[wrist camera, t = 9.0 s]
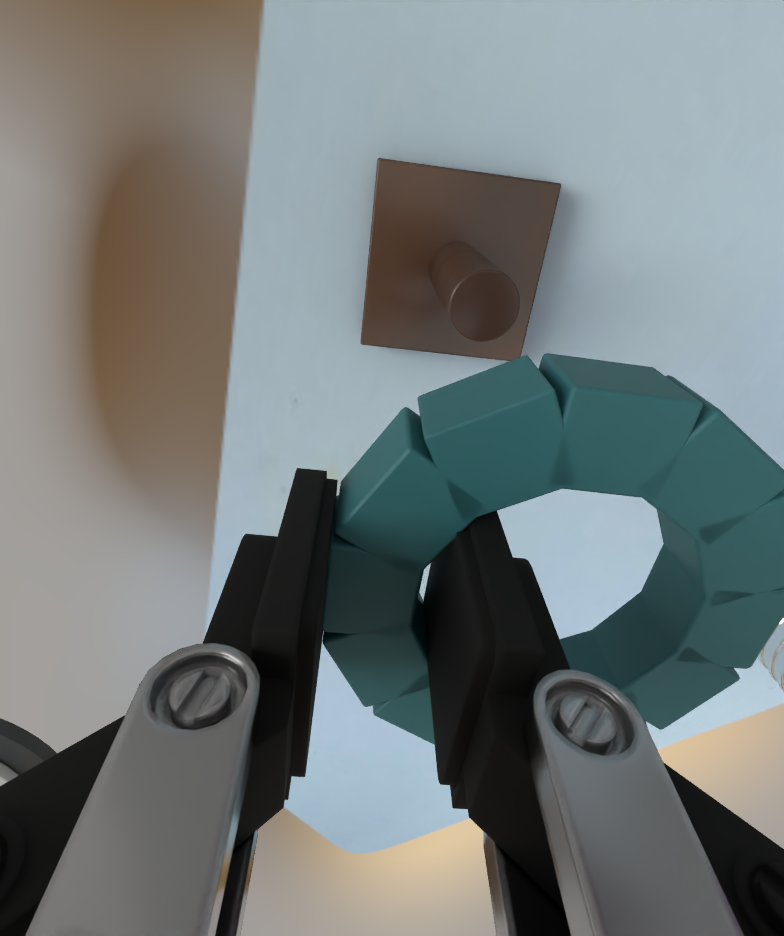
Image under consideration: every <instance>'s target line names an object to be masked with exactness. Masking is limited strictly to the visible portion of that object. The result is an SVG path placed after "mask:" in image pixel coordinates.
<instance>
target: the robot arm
mask: <svg viewBox="0 0 784 936" xmlns="http://www.w3.org/2000/svg"><path fill="white" fill-rule="evenodd" d="M336 492H337V480H334V479H327V471H321V470H311V469H301V468H297V470H296V473H295V477H294V480H293V484H292V488H291V491H290V495H289V498H288V502H287V505H286V509H285V513H284V516H283V520H282V523H281V527H280V530H279V534H278V537H276V536H265V535H253V534H245V535H244V536H243V538H242V540H241V543H240V546H239V548H238V551H237V554H236V556H235V559H234V562H233V564H232V567H231V570H230V572H229V575H228V577H227V580H226V583H225V585H224V588H223V591H222V593H221V596H220V599H219V601H218V604H217V607H216V609H215V612H214V615H213V617H212V620H211V623H210V625H209V628H208V631H207V633H206V636H205V639H204V641H203V644H196V645H192V646H189V647H185V648H182V649H179V650H177V651H175V652H173V653H171V654H169V655H167V656H166V657H164V658H162V659H161V660H160V661H159V662H158V663H157V664H155V665H154V666H153V667H152V668H151V669H150V670H149V671H148V672H147V674H146V675H145V677H144V678H143V680H142V681H141V683H140V684H139V687H138V689H137V691H136V693H135V695H134V698H133V700H132V702H131V704H130V707H129V709H128V711H127V713H126V715H125V716H123V717H121V718H119V719H118V720H116V721H114V722H112V723H111V724H109V725H107V726H105V727H103V728H102V729H100V730H98V731H96V732H95V733H93V734H91V735H89V736H88V737H86V738H84V739H83V740H81V741H79V742H77V743H75V744H73V745H72V746H70V747H68V748H66V749H65V750H63V751H61V752H59V753H58V754H56V755H54V756H52V757H51V758H49V759H47V760H45V761H44V762H42V763H40V764H38V765H36V766H35V767H33V768H31V769H29V770H28V771H26V772H24V773H22V774H21V775H18V774H17V773H16V772H14V771H13V770H12V769H11V768H9V767H8V766H7V765H5V764H3V763H2V762H0V936H240V934H241V929H242V923H243V917H244V912H245V906H246V900H247V895H248V888H249V883H250V877H251V871H252V865H253V860H254V854H255V848H256V843H257V837H258V829H259V828H260V827H261V826H262V825H263V824H264V823H266V822H267V821H268V820H269V819H270V818H272V817H273V816H274V815H275V814H276V813H278V812H279V811H280V810H281V809H282V808H283V807H284V801H285V800H288V796H289V789H290V783H291V776H296V777H305V773H306V766H307V757H308V749H309V741H310V733H311V725H312V717H313V709H314V701H315V693H316V685H317V677H318V669H319V660H320V652H321V644H322V636H323V631H322V627H323V616H324V604H325V593H326V581H327V569H328V558H329V547H330V539H331V531H332V524H333V516H334V509H335V502H336ZM423 607H424V618H425V628H426V638H427V648H428V664H427V666H428V677H429V687H430V698H431V709H432V719H433V730H434V740H435V751H436V762H437V772H438V779H439V783H440V784H442V785H450V789H451V797H452V806H453V808H457V809H468V813H469V817H470V818H471V819H472V820H473V821H474V822H475V823H476V824H477V825H478V826H479V827H480V828H481V829H482V830H483V831H484V852H485V859H486V866H487V873H488V880H489V887H490V894H491V901H492V908H493V915H494V922H495V929H496V936H784V849H783V848H781V847H780V846H779V845H777V844H776V843H774V842H773V841H771V840H770V839H769V838H767V837H766V836H765V835H763V834H762V833H760V832H759V831H758V830H756V829H755V828H754V827H752V826H751V825H749V824H748V823H747V822H745V821H744V820H742V819H741V818H740V817H738V816H737V815H736V814H734V813H733V812H731V811H730V810H728V809H727V808H726V807H724V806H723V805H721V804H720V803H719V802H717V801H716V800H715V799H713V798H712V797H710V796H709V795H708V794H706V793H705V792H703V791H702V790H701V789H699V788H698V787H697V786H695V785H694V784H692V783H691V782H689V781H688V780H687V779H685V778H684V777H683V776H681V775H680V774H678V773H677V772H676V771H674V770H673V769H672V768H670V767H669V766H667V765H666V764H665V763H663V761H662V760H661V757H660V755H659V753H658V750H657V748H656V746H655V744H654V742H653V740H652V738H651V735H650V733H649V731H648V729H647V727H646V725H645V723H644V720H643V718H642V717H641V715H640V714H639V712H638V710H637V709H636V707H635V706H634V704H633V703H632V702H631V701H630V700H629V699H628V698H627V697H626V696H625V695H624V694H623V693H622V692H621V691H620V690H619V689H617V688H616V687H615V686H613V685H612V684H610V683H609V682H607V681H606V680H604V679H602V678H599V677H597V676H595V675H592V674H590V673H587V672H582V671H577V670H573V669H572V670H571V669H570V666H569V664H568V661H567V658H566V656H565V653H564V650H563V648H562V645H561V643H560V640H559V637H558V635H557V632H556V629H555V627H554V624H553V622H552V619H551V616H550V614H549V611H548V608H547V606H546V603H545V601H544V598H543V595H542V593H541V590H540V587H539V585H538V582H537V580H536V577H535V574H534V572H533V569H532V567H531V565H530V563H529V561H528V560H526V559H523V558H513V557H512V554H511V551H510V548H509V545H508V543H507V540H506V537H505V534H504V531H503V528H502V525H501V522H500V519H499V516H498V513H497V511H494V512H491V513H488V514H485V515H482V516H479V517H476V518H475V519H474V520H473V521H472V522H471V523H470V524H469V525H468V526H467V527H466V528H465V529H464V530H463V531H462V532H457V534H456V537H455V539H454V540H453V541H452V542H451V543H450V544H449V545H448V546H447V547H446V548H445V549H444V550H443V551H442V552H441V553H440V554H439V555H438V556H437V557H436V558H435V559H434V560H433V561H432V562H431V566H430V571H429V576H428V581H427V586H426V591H425V596H424V602H423Z"/></svg>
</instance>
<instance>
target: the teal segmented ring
mask: <svg viewBox="0 0 784 936" xmlns="http://www.w3.org/2000/svg"><path fill="white" fill-rule="evenodd" d="M418 404H419V411H420V416H419V415H417V414H416V413H415V412H413V411H412V410H411V409H409V408H407V407H405V408H403V409H402V410H401V411H400V412H399V414H398V415H397V416H396V417H395V418H394V420H393V421H392V422H391V423H390V424H389V425H388V427H387V428H386V429H385V430H384V431H383V433H382V434H381V435H380V436H379V437H378V438H377V440H376V441H375V442H374V443H373V444H372V446H371V447H370V448H369V449H368V450H367V452H366V453H365V454H364V455H363V456H362V457H361V459H360V460H359V461H358V462H357V463H356V465H355V466H354V467H353V468H352V469H351V470H350V472H349V473H348V474H347V475H346V476H345V478H344V479H343V480H342V481H341V486H340V493H339V495H338V496H336V502H335V509H334V516H333V524H332V531H331V539H330V547H329V558H328V569H327V581H326V593H325V604H324V616H323V627H322V631H324V634H323V645H324V646H325V648H326V649H327V651H328V652H329V654H330V655H331V657H332V658H333V660H334V661H335V663H336V664H337V666H338V668H339V669H340V671H341V672H342V674H343V675H344V677H345V678H346V680H347V681H348V683H349V684H350V686H351V687H352V689H353V690H354V692H355V693H356V695H357V696H358V698H359V700H360V701H361V703H362V704H363V706H365V707H368V706H372V705H373V713H374V715H375V716H377V717H379V718H381V719H383V720H385V721H387V722H389V723H391V724H394V725H396V726H398V727H400V728H402V729H404V730H406V731H408V732H410V733H412V734H414V735H416V736H418V737H420V738H422V739H424V740H426V741H428V742H430V743H432V744H434V745H435V740H434V730H433V719H432V709H431V698H430V687H429V677H428V666H427V664H428V648H427V638H426V628H425V618H424V607H423V602H424V601H423V599H422V597H421V595H420V593H419V590H420V585H421V580H422V576H423V571H424V569H425V568H426V567H427V566H428V565H429V564H430V563H431V562H432V561H433V560H434V559H435V558H436V557H437V556H438V555H439V554H440V553H441V552H442V551H443V550H444V549H445V548H446V547H447V546H448V545H449V544H450V543H451V542H452V541H453V540H454V539H455V537H456V534H457V532H462V531H463V530H464V529H465V528H466V527H467V526H468V525H469V524H470V523H471V522H472V521H473V520H474V519H475V518H476V517H479V516H482V515H485V514H488V513H491V512H494V511H497V510H500V509H503V508H506V507H509V506H512V505H515V504H517V503H520V502H523V501H526V500H529V499H532V498H535V497H538V496H541V495H544V494H547V493H550V492H553V491H556V490H559V489H562V488H563V489H572V490H581V491H589V492H598V493H607V494H616V495H625V496H634V497H642V498H643V499H645V500H646V501H647V502H648V503H650V504H651V505H652V506H654V507H655V508H656V509H657V512H658V517H659V522H660V527H661V533H662V538H663V543H664V544H663V546H662V548H661V550H660V553H659V555H658V557H657V559H656V561H655V563H654V565H653V567H652V570H651V572H650V574H649V576H648V578H647V580H646V582H645V584H644V587H643V589H642V591H641V592H640V593H639V594H637V595H636V596H635V597H634V598H632V599H631V600H630V601H628V602H627V603H626V604H625V605H623V606H622V607H621V608H619V609H618V610H617V611H616V612H614V613H613V614H612V615H610V616H609V617H608V618H607V619H605V620H604V621H603V622H601V623H600V624H599V625H598V626H596V627H595V628H594V629H592V630H590V631H587V632H583V633H580V634H576V635H573V636H570V637H566V638H563V639H559V640H560V643H561V645H562V648H563V650H564V653H565V656H566V658H567V661H568V664H569V666H570V669H571V670H572V669H573V670H577V671H582V672H587V673H590V674H592V675H595V676H597V677H599V678H602V679H604V680H606V681H607V682H609V683H610V684H612V685H613V686H615V687H616V688H617V689H619V690H620V691H621V692H622V693H623V694H624V695H625V696H626V697H627V698H628V699H629V700H630V701H631V702H632V703H633V704H634V706H635V707H636V709H637V710H638V712H639V714H640V715H641V717H642V718H643V720H644V723H645V725H646V721H647V722H648V723H650V724H652V725H653V726H655V727H657V728H658V729H664V728H665V727H667V726H668V725H670V724H671V723H673V722H675V721H676V720H678V719H679V718H681V717H682V716H684V715H685V714H687V713H689V712H690V711H692V710H693V709H695V708H696V707H698V706H699V705H701V704H702V703H704V702H706V701H707V700H709V699H710V698H712V697H713V696H715V695H716V694H718V693H719V692H721V691H723V690H724V689H726V688H727V687H729V686H730V685H732V684H733V683H735V682H737V681H738V680H739V679H740V678H739V675H738V674H737V672H736V671H735V670H734V668H744V669H747V668H749V667H751V666H752V665H753V663H754V661H755V660H756V658H757V657H758V655H759V654H760V652H761V651H762V649H763V648H764V646H765V645H766V643H767V642H768V640H769V639H770V637H771V636H772V634H773V632H774V631H775V629H776V628H777V626H778V625H779V623H780V622H781V620H782V619H783V617H784V470H783V469H782V468H781V467H780V466H779V465H778V464H777V463H776V462H775V461H774V460H773V459H772V458H771V457H770V456H769V455H767V454H766V453H765V452H764V451H763V450H762V449H761V448H760V447H759V446H758V445H757V444H756V443H755V442H754V441H753V440H752V439H750V438H749V437H748V436H747V435H746V434H745V433H744V432H743V431H742V430H741V429H740V428H739V427H738V426H737V425H736V424H735V423H733V422H732V421H731V420H730V419H729V418H728V417H727V416H726V415H725V414H724V413H723V412H722V411H721V410H719V409H718V408H716V407H715V406H713V405H712V404H711V403H709V402H708V401H706V400H705V399H704V398H702V397H701V396H699V395H698V394H696V393H695V392H694V391H692V390H691V389H689V388H688V387H687V386H685V385H684V384H682V383H681V382H679V381H678V380H677V379H675V378H674V377H672V376H669V375H667V376H664V375H663V374H661V373H660V372H659V371H657V370H656V369H654V368H653V367H646V366H638V365H631V364H623V363H616V362H608V361H601V360H594V359H586V358H579V357H571V356H564V355H556V354H549V353H547V354H544V355H543V357H542V359H541V363H540V366H539V369H538V368H537V367H536V365H535V364H534V363H533V362H532V360H531V359H530V358H529V357H528V356H527V355H526V356H522V357H520V358H517V359H514V360H512V361H509V362H507V363H504V364H501V365H499V366H496V367H494V368H491V369H488V370H486V371H483V372H481V373H478V374H475V375H473V376H470V377H468V378H465V379H462V380H460V381H457V382H455V383H452V384H449V385H447V386H444V387H442V388H439V389H436V390H434V391H431V392H429V393H426V394H423V395H421V396H419V397H418ZM646 727H647V725H646ZM647 729H648V728H647Z"/></svg>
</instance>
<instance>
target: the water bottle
mask: <svg viewBox="0 0 784 936" xmlns="http://www.w3.org/2000/svg"><path fill="white" fill-rule="evenodd" d="M757 658H758V659H759V660H760V662H761V663H762V665H763V666H764V667H765V668H766V669H767V670H768V672H769V673H770V675H771V676H772V677H773V679H774V680H775V681H776V682H777V683H778V685H779V686H780V688H781V689H782V690H783V691H784V617H783V619H782V620H781V622H780V623H779V625H778V626H777V628H776V629H775V631H774V632H773V634H772V636H771V637H770V639H769V640H768V642H767V643H766V645H765V646H764V648H763V649H762V651H761V652H760V654H759V655H758V657H757Z"/></svg>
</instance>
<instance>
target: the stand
mask: <svg viewBox="0 0 784 936" xmlns="http://www.w3.org/2000/svg"><path fill="white" fill-rule="evenodd" d="M560 189H561V184H560V183H554V182H547V181H540V180H532V179H525V178H518V177H511V176H504V175H496V174H489V173H482V172H475V171H467V170H460V169H453V168H446V167H439V166H431V165H424V164H417V163H410V162H403V161H395V160H388V159H381V158H379V159H378V162H377V173H376V183H375V194H374V205H373V216H372V226H371V237H370V248H369V259H368V269H367V280H366V291H365V301H364V312H363V323H362V334H361V344H362V345H371V346H380V347H389V348H398V349H407V350H416V351H425V352H434V353H443V354H452V355H461V356H469V357H478V358H487V359H496V360H505V361H512V360H514V359H517V358H520V356H521V352H522V348H523V344H524V339H525V335H526V331H527V327H528V323H529V318H530V314H531V310H532V306H533V302H534V298H535V293H536V289H537V285H538V281H539V277H540V272H541V268H542V264H543V260H544V256H545V251H546V247H547V243H548V239H549V235H550V231H551V226H552V222H553V218H554V214H555V210H556V205H557V201H558V197H559V193H560Z"/></svg>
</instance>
